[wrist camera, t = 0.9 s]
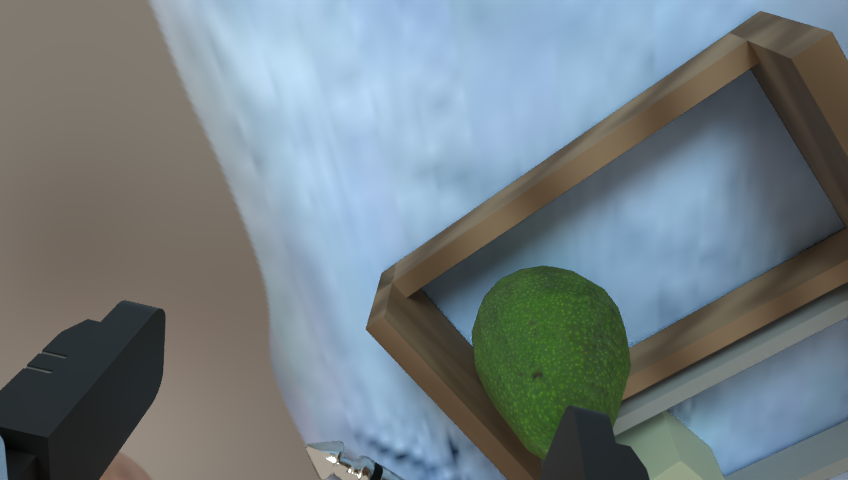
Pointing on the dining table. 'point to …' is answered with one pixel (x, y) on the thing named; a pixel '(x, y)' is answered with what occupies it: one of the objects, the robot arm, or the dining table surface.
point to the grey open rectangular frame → (787, 469)
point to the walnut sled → (648, 112)
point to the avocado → (549, 351)
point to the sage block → (671, 450)
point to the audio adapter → (345, 464)
